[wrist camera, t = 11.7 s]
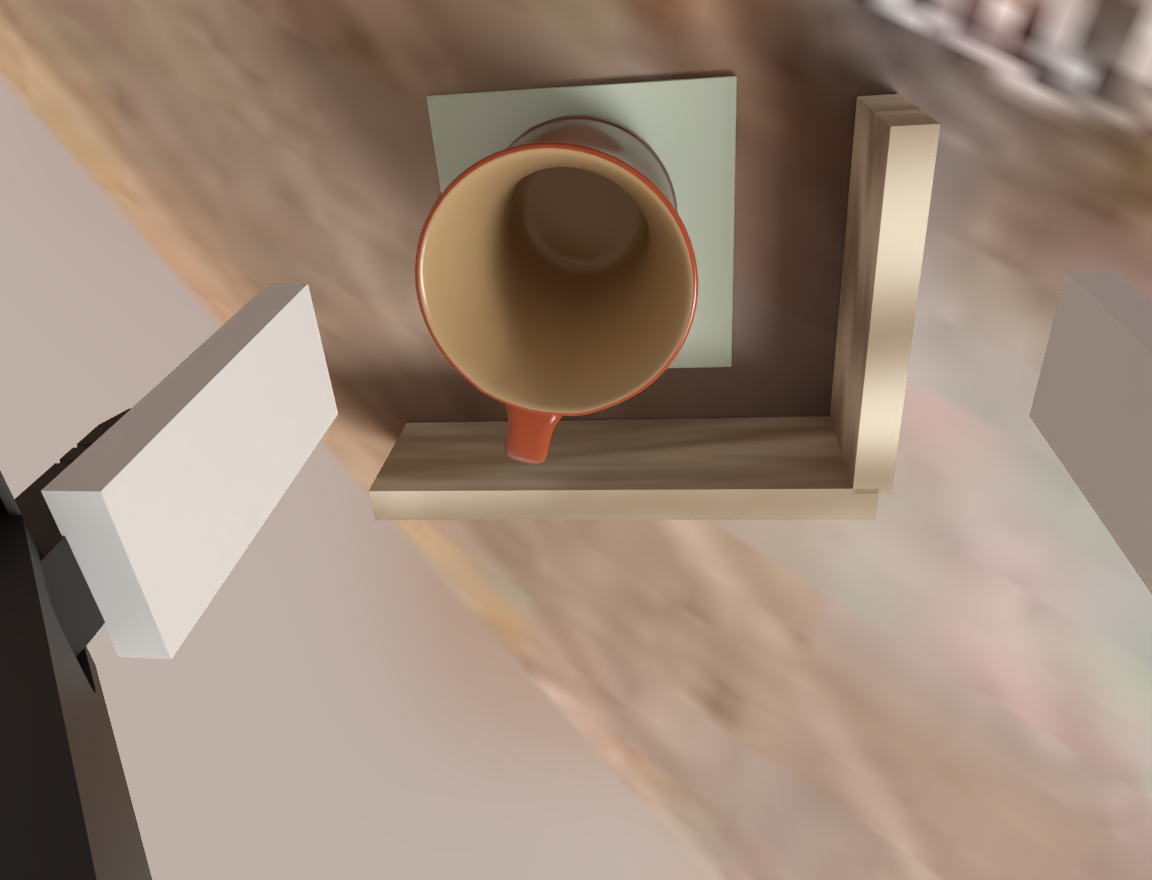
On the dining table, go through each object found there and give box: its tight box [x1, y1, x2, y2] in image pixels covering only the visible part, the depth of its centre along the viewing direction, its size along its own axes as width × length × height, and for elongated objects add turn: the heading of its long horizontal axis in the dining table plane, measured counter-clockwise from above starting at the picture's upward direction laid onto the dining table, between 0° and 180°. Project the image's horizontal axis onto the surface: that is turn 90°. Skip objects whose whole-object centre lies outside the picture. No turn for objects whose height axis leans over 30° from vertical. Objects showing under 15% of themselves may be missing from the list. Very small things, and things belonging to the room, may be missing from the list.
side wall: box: [830, 94, 940, 494], centre depth 33 cm, size 14×2×6 cm, turn 4°
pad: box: [426, 76, 737, 368], centre depth 36 cm, size 12×12×1 cm
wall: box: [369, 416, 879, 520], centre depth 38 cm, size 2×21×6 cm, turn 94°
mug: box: [415, 115, 698, 464], centre depth 31 cm, size 12×9×10 cm
